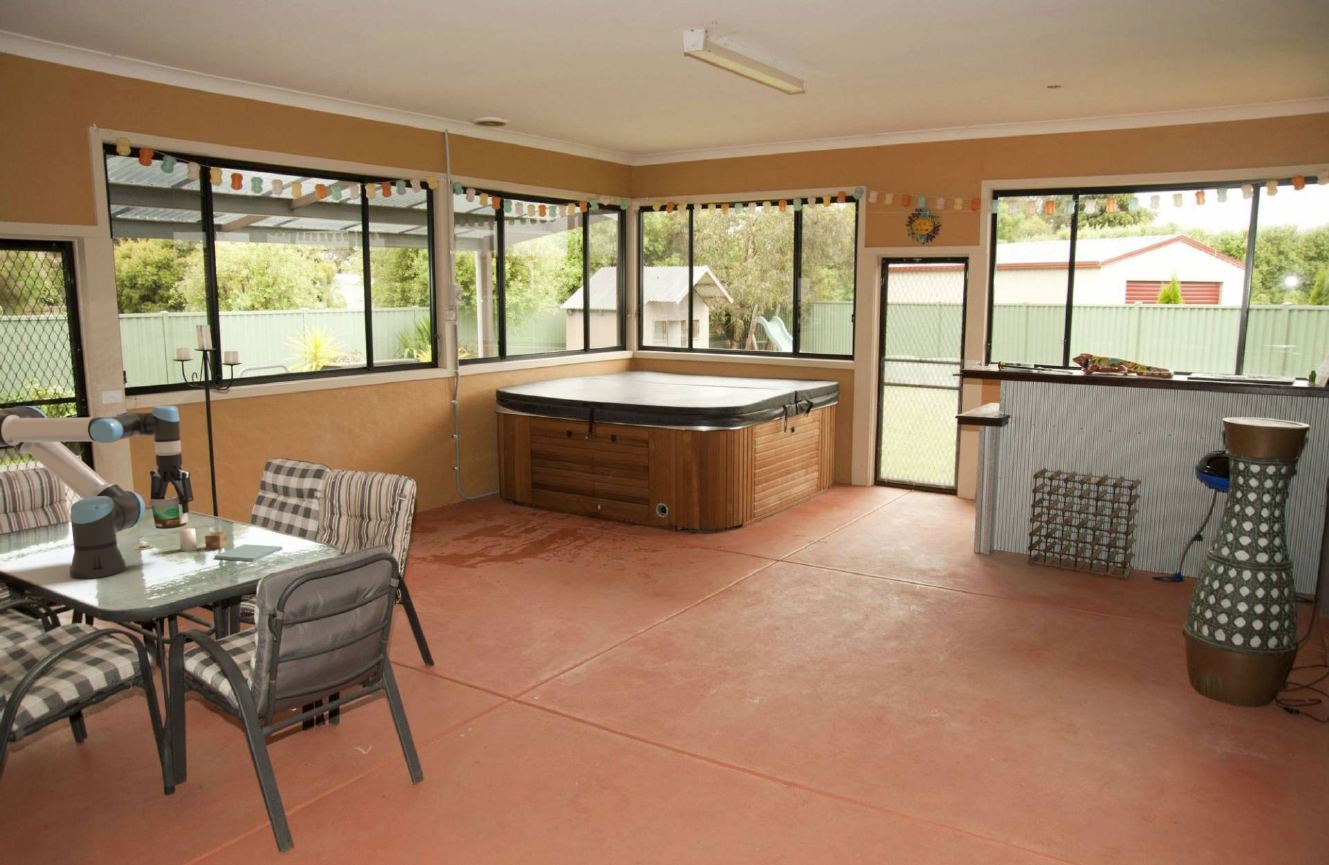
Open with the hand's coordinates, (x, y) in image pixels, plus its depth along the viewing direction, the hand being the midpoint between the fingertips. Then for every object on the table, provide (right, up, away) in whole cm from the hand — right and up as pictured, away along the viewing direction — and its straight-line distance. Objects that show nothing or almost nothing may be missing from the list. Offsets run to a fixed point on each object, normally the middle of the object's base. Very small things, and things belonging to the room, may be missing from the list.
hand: (173, 521), depth 306 cm
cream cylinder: (-3, -11, +16) cm, 20 cm away
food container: (0, -2, 0) cm, 2 cm away
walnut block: (+6, -11, +18) cm, 22 cm away
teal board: (+21, -12, +9) cm, 26 cm away
